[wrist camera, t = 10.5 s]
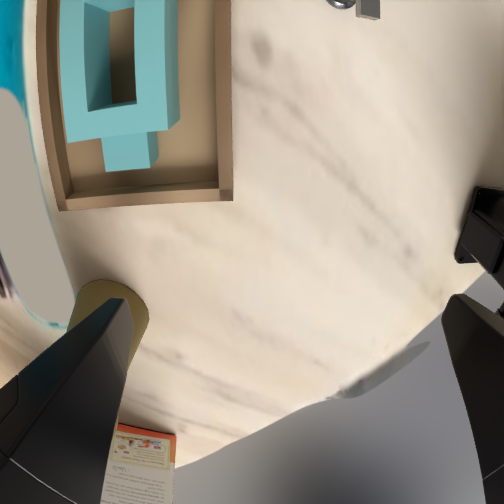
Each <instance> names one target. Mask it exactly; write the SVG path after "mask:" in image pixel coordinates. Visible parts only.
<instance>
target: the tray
mask: <svg viewBox="0 0 504 504" xmlns="http://www.w3.org/2000/svg"><path fill="white" fill-rule="evenodd" d="M59 26H60V0H37V15H36V61H37V80H38V93H39V104H40V113H41V121H42V128H43V135H44V142H45V148H46V154H47V159H48V165H49V170H50V175H51V180H52V184H53V189H54V193H55V198H56V202H57V206H58V210H59V212H60V211H70V210H81V209H93V208H105V207H118V206H133V205H149V204H166V203H186V202H211V201H233V160H232V107H231V0H178V82H179V107H180V120H179V121H178V122H177V123H176V124H174V125H173V126H172V127H171V128H170V129H169V130H163V131H157V140H158V152H159V158H158V159H157V160H156V161H155V163H154V164H153V165H152V166H151V167H150V168H143V169H131V170H120V171H111V172H106V170H105V163H104V156H103V149H102V141H101V138H96V139H89V140H83V141H77V142H72V143H67V136H66V128H65V120H64V111H63V101H62V89H61V74H60V46H59ZM109 44H110V74H111V91H112V104H115V103H122V102H128V101H136V100H137V97H136V78H135V48H134V7H132V8H126V9H122V10H117V11H113V12H110V14H109Z"/></svg>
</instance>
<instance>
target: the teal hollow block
mask: <svg viewBox="0 0 504 504" xmlns="http://www.w3.org/2000/svg"><path fill="white" fill-rule="evenodd" d="M132 7H134V48H135V78H136V97H137V100H136V101H128V102H122V103H115V104H112V91H111V74H110V44H109V14H110V12H113V11H117V10H122V9H126V8H132ZM59 46H60V74H61V89H62V101H63V111H64V120H65V128H66V136H67V143H72V142H77V141H83V140H89V139H96V138H101V141H102V149H103V156H104V163H105V170H106V172H111V171H120V170H131V169H143V168H150V167H151V166H152V165H153V164H154V163H155V161H156V160H157V159H158V158H159V152H158V140H157V131H163V130H169V129H170V128H171V127H172V126H173V125H174V124H176V123H177V122H178V121H179V120H180V107H179V82H178V0H60V26H59Z"/></svg>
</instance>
